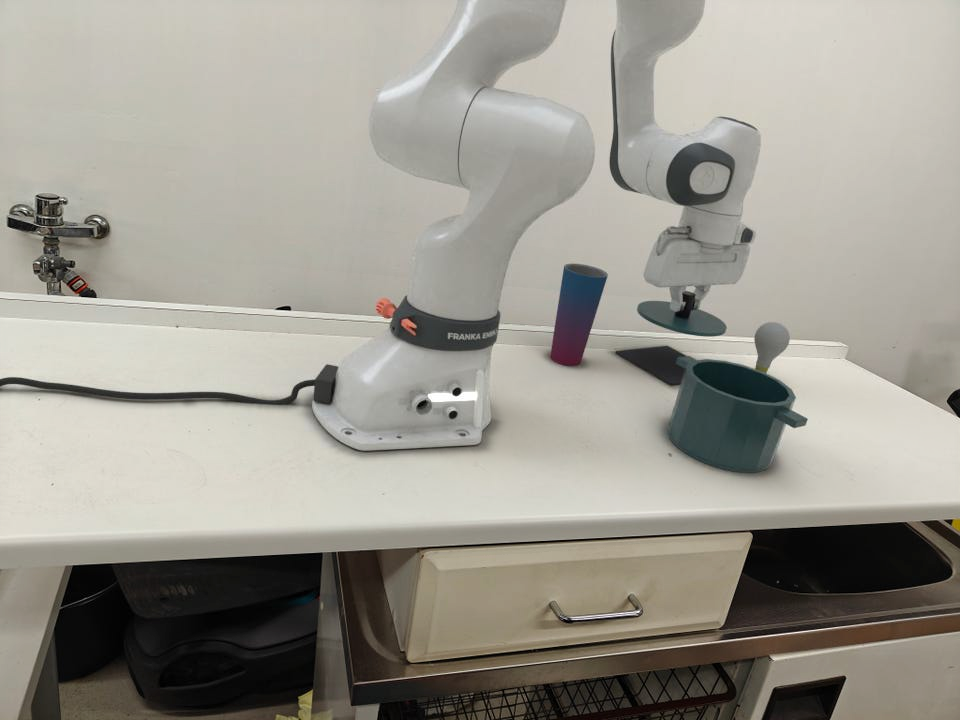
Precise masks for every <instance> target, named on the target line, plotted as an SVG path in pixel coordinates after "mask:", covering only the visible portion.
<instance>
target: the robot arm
mask: <svg viewBox="0 0 960 720" xmlns="http://www.w3.org/2000/svg"><path fill="white" fill-rule="evenodd" d="M567 1H568V0H457V3H456V7H455V9H454V12H453V14H452V17H451V19H450V20H449V22H448V24H447V26H446V27H445V29H444V31H443V32H442V34H441V35H440V37H439V39H437V41H436V43H435V44H434V45H433V46H432V47H431V49H429V50H428V52H427V53H426V54H425V55H424V56H423V57H422V58H421V59H420V60H418V62H416V63H415V64H414V65H413V66H411V67H410V68H408V69H407V70H405V71H403V72H402V73H400V74H399V75H396V76H394V77H392V78H390V79H389V80H388V81H386V83H385V84H383V86H382V87H381V88H380V89H379V91H378V92H377V94H376V95H375V96H374V99H373V101H372V104H371V106H370V110H369V115H368V133H369V138H370V142H371V145H372V148H373V150H374V151H375V154H376V155H377V157H378V158H379V159H380V160H381V161H382V162H384V163H386V164H387V165H390V166H392V167H394V168H396V169H398V170H400V171H402V172H404V173H407V174H409V175H411V176H413V177H416V178H420V179H424V180H428V181H432V182H437V183H441V184H446V185H448V186H449V185H450V186H454V187H458V188H462V189H465V190H468V191H469V195H468V200H467V203H466V206H465V207H464V208H465V209H464V210H463V211H462V213H459V214H455V215H451V216H447V217H444V218H442V219H439V220H436V221H434V222H431V223H430V224H428V225H427V226H425V227H424V228H423V229H422V230H421V231H420V232H419V233H418V235H417V237H416V239H415V241H414V243H413V250H412V257H411V263H410V272H409V280H408V287H407V294H406V295H405V296H404V297H403V298H402V300H401V302H400V304H399V305H398V306H396V304H394V303H393V302H391V301H390V299H388V298H385V297H382V298H380V299H379V300H378V301H377V302H376V303H375V304H376V305H375V306H374V307H375V311H376V312H377V314H379V315H381V316H382V317H383V318H384V319H386V320H389V319H391V321H390V323H389V327H387V328H385V329H384V330H382V331H381V332H380V333H378V334H377V335H375V337H373V338H371V339H370V340H368V341H367V342H365V343H364V344H363V345H361V346H359V347H358V348H356V349H355V350H353V351H352V352H350V353H349V354H346V355H345V356H344V357H343V358H342V360H341V361H340V363H339V365H333V364H327V363H326V364H325V365H324V367H323V368H322V369H321V371H320V372H319V373H318V375H317V376H316V377H315V378H314V379H306V380H303V381H300V382H298V383H296V384H295V385H294V386H293V388H292V390H291V393H290V395H289V396H286V397H285V398H280V399H262V398H256V397H252V396H247V395H242V394H237V393H233V392H224V391H183V392H182V391H180V392H179V391H178V392H133V391H131V392H129V391H119V390H112V389H111V390H110V389H102V388H97V387H91V386H83V385H77V384H70V383H62V382H61V383H59V382H48V381H41V380H37V379H31V378H26V377H18V376H9V377H2V378H0V387H2V386H7V385H19V386H27V387H32V388H36V389H43V390H51V391H52V390H53V391H61V392H62V391H63V392H69V393H70V392H72V393H78V394H85V395H92V396H98V397H104V398H113V399H121V400H123V399H124V400H140V401H141V400H142V401H144V400H146V401H162V400H163V401H164V400H190V399H191V400H193V399H219V400H229V401H236V402H240V403H247V404H255V405H256V404H257V405H267V406H269V405H270V406H271V405H272V406H285V405H288V404H291V403H293V402H295V400H297V398H298V396H299V393H300V391H301V390H302V389H305V388H308V387H313V397H312V403H311V409H312V411H313V414H314V416H315V418H316V420H317V421H318V422H319V424H320V425H321V426H322V427H323V428H324V430H325V431H326V432H328V433H329V434H330V436H332V437H333V438H335V439H336V440H337V441H339V442H340V443H342V444H344V445H346V446H348V447H350V448H352V449H355V450H358V451H364V452H365V451H366V452H367V451H385V450H387V451H388V450H405V449H406V450H407V449H422V448H423V449H424V448H443V447H461V446H463V447H464V446H475V445H479V444H481V442H482V438H483V437H482V435H483V431H484V430H485V429H486V428H487V427H488V425H489V424H490V423H491V421H492V409H491V402H490V401H491V400H490V375H491V360H492V352H493V346H494V345H495V343H496V342H497V339H498V333H499V330H500V329H499V328H500V321H501V311H500V310H499V308H500V303H501V296H502V291H503V287H504V284H505V279H506V276H507V271H508V268H509V264H510V261H511V259H512V255H513V253H514V250H515V248H516V246H517V244H518V242H519V241H520V240H521V238H522V236H523V235H524V233H525V232H526V231H527V230H528V229H529V227H530V226H532V224H533V223H534V222H535V221H536V220H538V219H539V218H540V217H541V216H542V215H544V214H545V213H547V212H549V211H550V210H552V209H554V208H555V207H557V206H560V205H562V204H564V203H566V202H568V201H569V200H571V199H572V198H573V197H574V196H575V195H577V193H579V192H580V191H581V189H582V188H583V187H584V186H585V185H586V183H587V181H588V179H589V177H590V175H591V172H592V170H593V167H594V163H595V156H596V155H595V154H596V145H595V138H594V134H593V131H592V128H591V125H590V123H589V122H588V121H589V120H587V118H586V116H585V115H584V114H583V113H581V112H579V111H577V110H574V109H572V108H571V107H568V106H566V105H563V104H561V103H558V102H556V101H553V100H551V99H548V98H546V97H542V96H537V95H532V94H526V93H522V92H515V91H510V90H505V89H500V88H494V87H495V85H496V84H497V82H498V81H499V80H500V78H501V77H502V76H503V75H504V74H505V73H506V72H508V71H509V70H510V69H512V68H513V67H515V66H517V65H519V64H523V63H526V62H529V61H531V60H534V59H537V58H538V57H540V56H541V55H543V54H544V53H545V52H546V51H547V50H548V49H549V48H550V47H551V46H552V45H553V44H554V42H555V41H556V39H557V37H558V35H559V32H560V27H561V24H562V21H563V16H564V13H565V9H566V6H567V5H566V4H567ZM615 4H616V5H615V6H616V25H615V29H614V31H613V34H612V38H611V45H610V79H611V80H610V82H611V103H612V120H613V121H612V122H613V123H612V125H613V127H612V139H611V144H610V145H611V146H610V151H609V161H608V162H609V170H610V175H611V177H612V179H613V181H614V182H615V184H616V185H617V186H618V187H619V188H620V189H622V190H625V191H628V192H632V193H638V194H642V195H646V196H648V197H650V198H653V199H656V200H659V201H663V202H666V203H669V204H672V205H675V206H681V207H682V212H681V215H680V218H679V222H678V225H677V226H673V225H672V226H667V227H666V229H664V230H663V231H662V232H660V233H659V235H658V236H657V239H656V240H655V242H654V243H653V246H652V248H651V251H650V253H649V256H648V258H647V262H646V264H645V267H644V270H643V278H644V281H645V282H646V283H648V284H649V285H652V286H654V287H656V288H668V289H669V293H670V298H671V300H670V302H671V303H670V309H671V310H673V311H675V312H679V311H683V310H684V306H685V303H686V302H685V301H683V297H682V292H685V291H687V287H694V288H695V289H694V290H693V292H692V293H694V294H696V296H695V300H694V303H693V307H692V310H698V309H699V310H700V307H701V304H702V301H704V299H705V297H706V296H707V295H708V294H709V292H710V290H711V287H712V286H723V285H724V286H725V285H735V284H737V282H739V280H741V278H742V276H743V274H744V271H745V268H746V265H747V262H748V260H749V255H750V252H751V251H750V250H751V248H750V245H751V244H754V241H755V239H756V236H757V231H756V230H754V229H753V228H751V227H750V226H748V225H746V224H745V223H744V222H742V221H741V220H742V216H743V212H744V201H745V198H746V196H747V194H748V192H749V190H750V189H751V187H752V184H753V181H754V179H755V174H756V170H757V166H758V162H759V157H760V152H761V145H762V137H761V132H760V131H759V130H758V129H757V128H756V127H755V126H754V125H752V124H750V123H747V122H745V121H742V120H738V119H736V118H733V117H727V116H715V117H713V118H712V119H711V121H710V122H709V123H708V124H707V125H705V126H704V127H702V128H699V129H698V130H695V131H693V132H689V133H685V135H684V134H677V133H673V132H669V131H666V130H664V129H663V128H662V127H661V126H660V125H659V124H658V123H657V120H656V118H655V91H654V90H655V81H654V79H655V75H654V74H655V68H656V64H657V62H658V60H659V58H661V56H662V55H664V54H665V53H668V52H670V51H671V50H673V49H675V48H677V47H678V46H680V45H682V44H683V43H685V41H686V40H688V39H689V38H690V37H691V35H692V34H693V33H694V32H695V31H696V29H697V28H698V26H699V24H700V23H701V20H702V19H703V17H704V13H705V12H704V11H705V6H706V0H615ZM692 310H691V311H692Z"/></svg>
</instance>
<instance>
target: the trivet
mask: <svg viewBox="0 0 960 720" xmlns="http://www.w3.org/2000/svg"><path fill="white" fill-rule="evenodd" d="M614 353H615V354H616V355H618V356H619V357H621V358H622V359H624V360H626V361H628V362H630V363H632V364H634V366H636V367H638V368H640V369H641V370H643V371H645V372H647V373H649V374H650V375H652V376H654V377H655V378H657V379H659V380H661V381H662V382H664V383H666V384H668V385H669V386H671V387H672V386H678V385H681V382H682V378H683V375H684V372H685V368H683V367H681V366H679V365H678V364H676V361H677V358H678V357H684V356H687V355H686V354H684V353H682V352H680V351H679V350H676V349H675V348H672V347H670V346H669V345H662V346H651V347H650V346H649V347H641V348H631V349H622V350H615V352H614Z"/></svg>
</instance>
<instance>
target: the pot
mask: <svg viewBox="0 0 960 720" xmlns="http://www.w3.org/2000/svg"><path fill="white" fill-rule="evenodd" d="M676 364H678V365H679V366H681V367H683V368H685V372H684V375H683V378H682V382H681V384H679V389H678V392H677V395H676V399H675V402H674V405H673V409H672V413H671V415H670V419H669V422H668V428H667V435H668V437H669V439H670V441H671V442H672V444H673V445H674V446H675V447H677V448H678V449H679V450H680V451H682V452H683V453H684V454H685V455H688V456H690V457H691V458H693V459H694V460H697V461H699V462H702V463H704V464H707V465H708V466H712V467H714V468H717V469H722V470H724V471H725V470H727V471H730V472H734V473H735V472H736V473H748V474H749V473H751V474H752V473H758V472H763V471H766V470H767V469H768V468H769V467H770V466H771V464H772V462H773V460H774V459H775V456H776V454H777V450H778V447H779V445H780V442H781V440H782V437H783V434H784V431H785V429H786V426H789V427H790V428H792V429H797V428H801V427H805V426H806V425H807V423H808V419H809V418H808V417H805V416H803V415H802V414H800V413H798V412H797V411H794V410H793V408H794V404H795V402H796V400H797V396H796V394H795V393H794V391H793V389H792V388H791V387H790V386H788V385H787V384H786V383H784V382H783V381H782V380H780V379H779V378H776V377H775V376H773V375H771V374H768V372H767V373H765V372H762V371H759V370H756V369H755V368H753V367H751V366H747V365H744V364H740V363H736V362H731V361H728V360H721V359H710V358H709V359H708V358H702V359H696V358H694V357H692V356H690V355H686V356H684V357H678V358H677V361H676Z"/></svg>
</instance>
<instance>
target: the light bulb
mask: <svg viewBox="0 0 960 720" xmlns="http://www.w3.org/2000/svg"><path fill="white" fill-rule="evenodd" d="M790 340H791V339H790V332H789V330H788V329H787V327H786V326H784V325H783V324H781V323H780V322H775V321H769V322H765V323H763V324H762V325H760V326H759V327H758V328H757V329H756V331H755V334H754V339H753V341H754V345H755V350H756V355H757V359H756V362H755V367H754V369H756V370H759V371H762V372H765V373H767V374H768V371H769V369H770V367H771V365H772V363H773V361H774V360H775V359H776V358H777V357H778V356H780V355H781V354H782V353H783V352H784V351H785V350H786V349H787V348H788V346H789V344H790Z"/></svg>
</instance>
